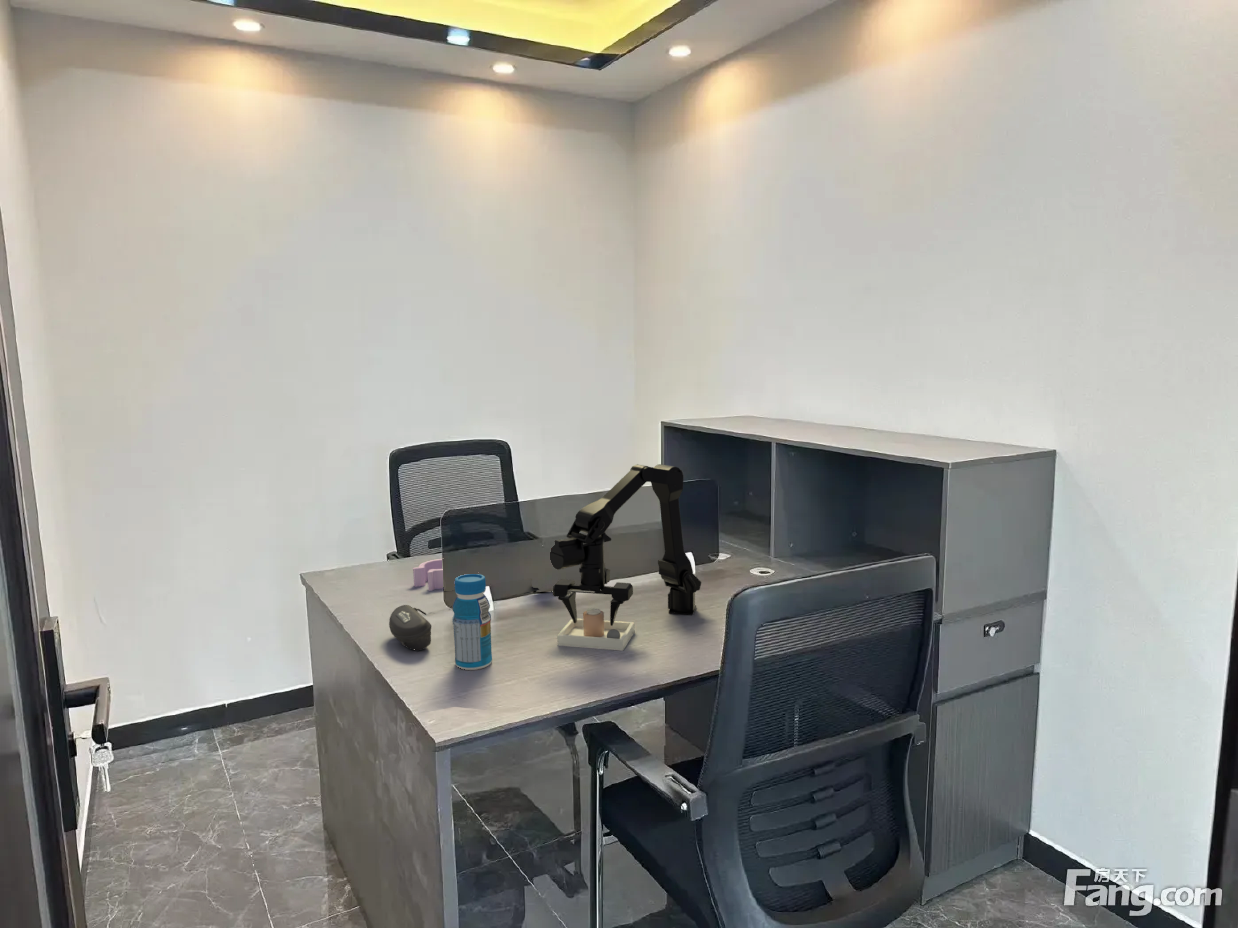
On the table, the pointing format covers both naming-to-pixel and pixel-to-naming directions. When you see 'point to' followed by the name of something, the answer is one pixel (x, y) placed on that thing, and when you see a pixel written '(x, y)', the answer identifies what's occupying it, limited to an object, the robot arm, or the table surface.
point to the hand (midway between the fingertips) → (593, 623)
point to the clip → (429, 574)
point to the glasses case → (410, 627)
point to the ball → (613, 634)
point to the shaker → (593, 623)
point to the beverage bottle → (471, 623)
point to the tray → (576, 638)
